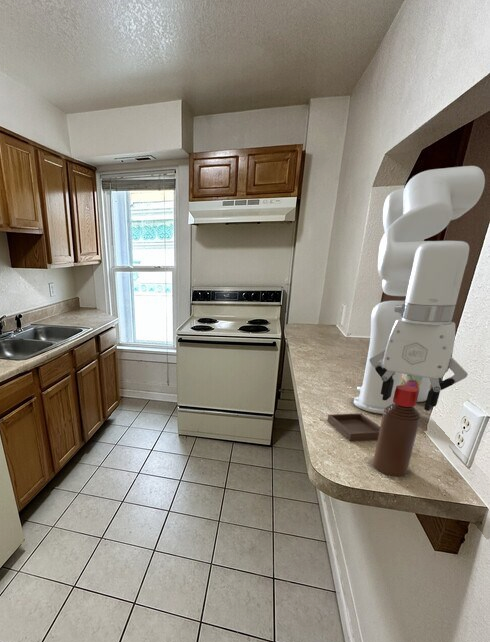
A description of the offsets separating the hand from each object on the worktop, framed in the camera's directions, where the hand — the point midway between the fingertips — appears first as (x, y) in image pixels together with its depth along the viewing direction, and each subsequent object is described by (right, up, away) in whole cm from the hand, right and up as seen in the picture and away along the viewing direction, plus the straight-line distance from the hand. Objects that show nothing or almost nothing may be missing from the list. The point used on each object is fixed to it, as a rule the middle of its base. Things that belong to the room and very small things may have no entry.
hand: (406, 402), depth 71 cm
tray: (+2, -8, +23) cm, 25 cm away
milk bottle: (+31, -1, +43) cm, 53 cm away
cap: (0, 0, +1) cm, 1 cm away
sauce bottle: (+1, -15, +7) cm, 16 cm away
